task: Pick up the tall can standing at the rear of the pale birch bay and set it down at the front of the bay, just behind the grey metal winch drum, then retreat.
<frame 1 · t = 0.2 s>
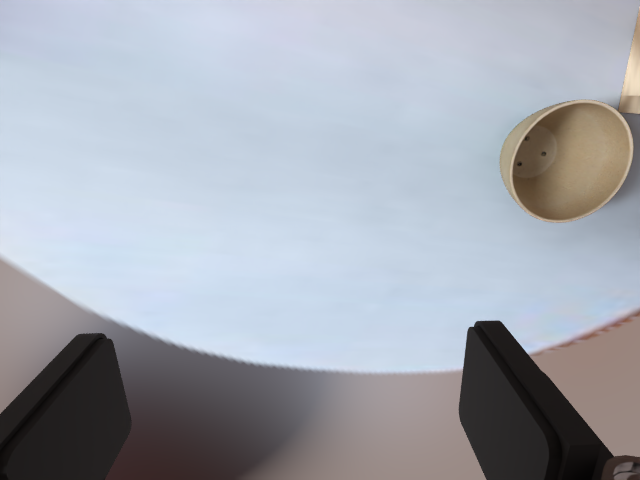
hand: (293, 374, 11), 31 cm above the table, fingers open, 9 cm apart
flower pot: (527, 152, 40), on the table
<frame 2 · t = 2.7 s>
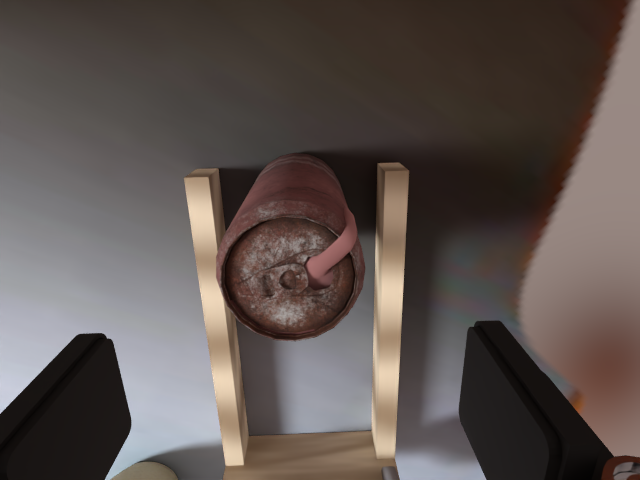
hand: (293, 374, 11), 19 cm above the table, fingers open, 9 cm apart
bay: (305, 316, 32), on the table
can: (299, 193, 29), on the table
flower pot: (152, 479, 38), on the table
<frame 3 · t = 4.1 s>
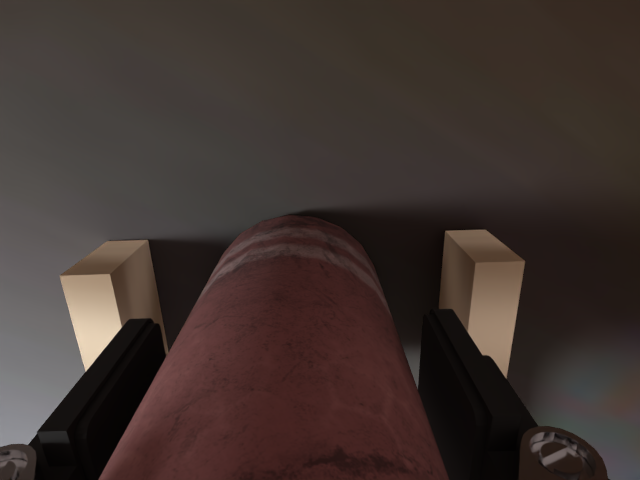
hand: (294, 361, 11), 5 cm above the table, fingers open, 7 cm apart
bay: (308, 475, 19), on the table
can: (299, 281, 16), on the table
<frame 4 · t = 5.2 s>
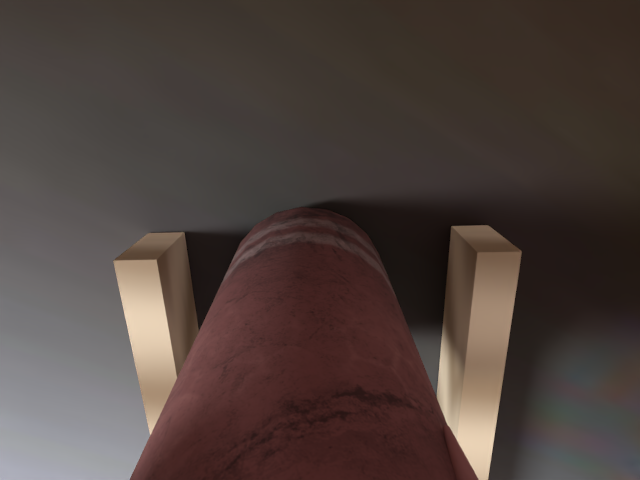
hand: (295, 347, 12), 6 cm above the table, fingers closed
bay: (324, 452, 21), on the table
can: (309, 269, 17), on the table, touching gripper
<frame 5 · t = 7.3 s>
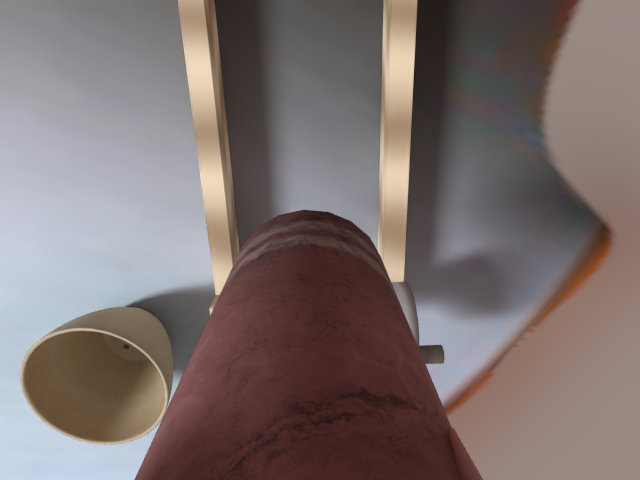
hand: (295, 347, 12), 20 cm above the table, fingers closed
bay: (303, 122, 29), on the table
can: (311, 272, 17), point 14 cm above the table, touching gripper
flower pot: (137, 332, 35), on the table
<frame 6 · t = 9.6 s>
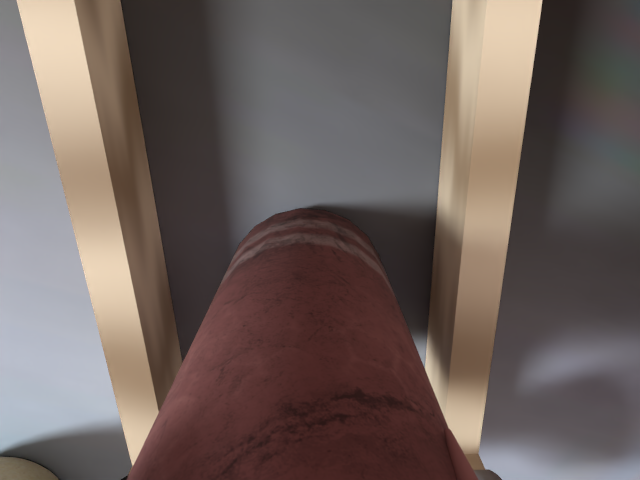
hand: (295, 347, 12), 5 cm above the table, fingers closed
bay: (294, 148, 15), on the table
can: (309, 271, 17), on the table
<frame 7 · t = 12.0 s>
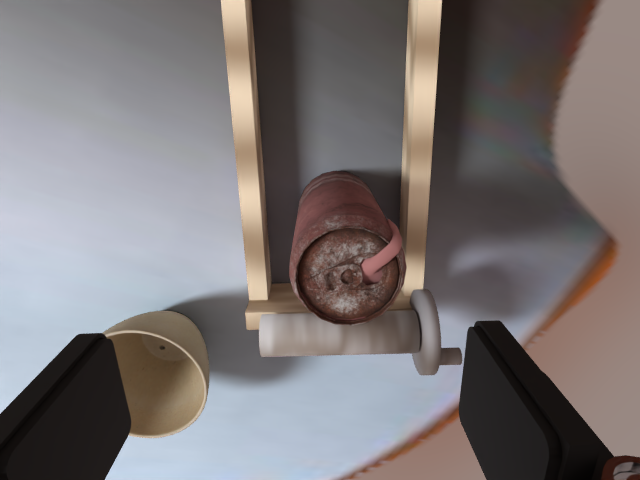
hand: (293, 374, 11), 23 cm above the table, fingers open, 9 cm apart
bay: (332, 142, 32), on the table
can: (337, 204, 33), on the table
flower pot: (172, 334, 38), on the table
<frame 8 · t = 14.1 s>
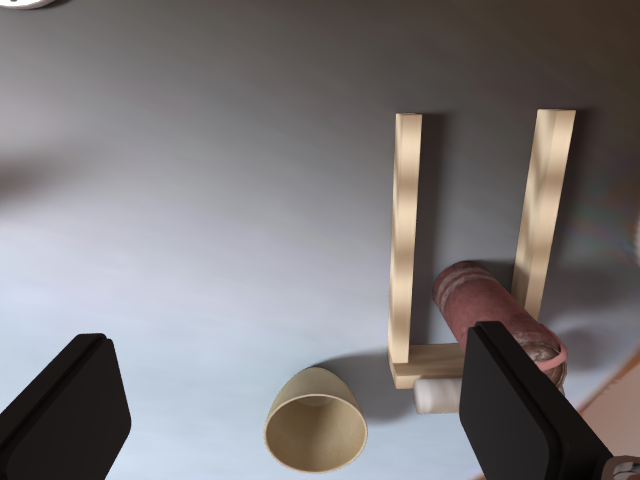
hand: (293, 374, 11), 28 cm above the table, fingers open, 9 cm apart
bay: (462, 239, 40), on the table
can: (461, 285, 42), on the table
flower pot: (315, 384, 46), on the table
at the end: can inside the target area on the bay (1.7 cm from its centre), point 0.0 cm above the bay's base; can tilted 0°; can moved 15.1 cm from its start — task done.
